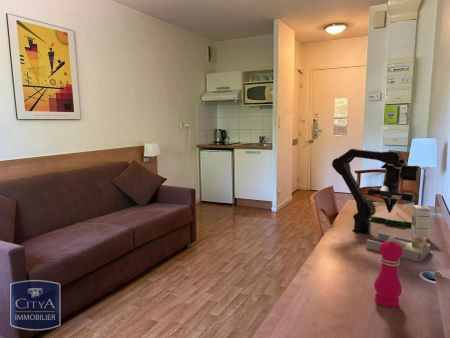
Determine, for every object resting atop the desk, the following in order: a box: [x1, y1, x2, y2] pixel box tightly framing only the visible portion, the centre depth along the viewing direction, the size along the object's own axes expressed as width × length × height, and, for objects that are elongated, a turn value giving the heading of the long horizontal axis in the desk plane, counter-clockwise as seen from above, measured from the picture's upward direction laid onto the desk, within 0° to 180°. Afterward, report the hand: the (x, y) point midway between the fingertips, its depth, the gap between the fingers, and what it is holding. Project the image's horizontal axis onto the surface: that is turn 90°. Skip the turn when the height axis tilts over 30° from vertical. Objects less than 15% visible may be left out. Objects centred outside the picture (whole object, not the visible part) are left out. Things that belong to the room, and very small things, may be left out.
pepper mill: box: [373, 236, 403, 308], centre depth 94 cm, size 7×7×20 cm
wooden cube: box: [411, 235, 427, 249], centre depth 132 cm, size 4×4×4 cm
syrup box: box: [410, 204, 431, 240], centre depth 151 cm, size 6×6×14 cm
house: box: [370, 204, 413, 227], centre depth 181 cm, size 23×33×8 cm
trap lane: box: [365, 232, 431, 263], centre depth 136 cm, size 20×14×4 cm
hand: (389, 212), depth 149 cm, fingers closed
